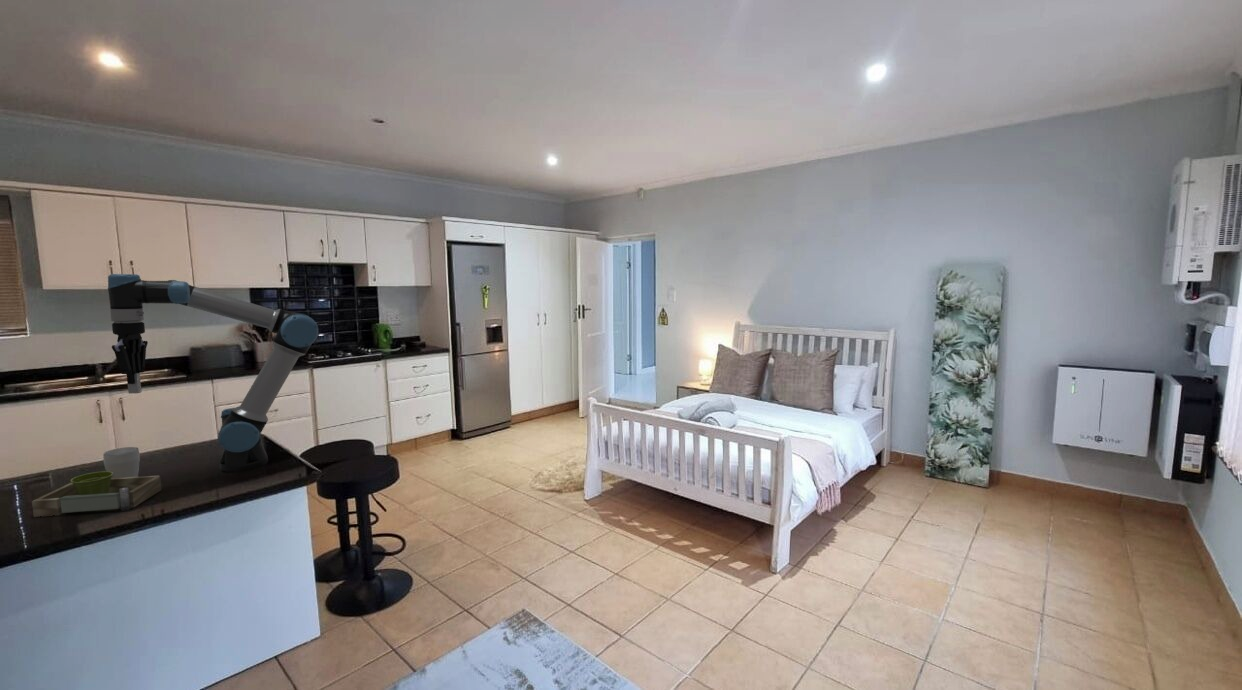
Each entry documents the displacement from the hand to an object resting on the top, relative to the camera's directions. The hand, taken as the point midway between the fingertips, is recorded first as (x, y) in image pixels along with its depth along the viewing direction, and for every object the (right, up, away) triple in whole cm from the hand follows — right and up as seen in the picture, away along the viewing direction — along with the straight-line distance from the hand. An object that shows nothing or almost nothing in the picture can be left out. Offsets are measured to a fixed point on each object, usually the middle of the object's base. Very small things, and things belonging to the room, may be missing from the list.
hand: (135, 392), depth 164 cm
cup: (-14, -33, +10) cm, 37 cm away
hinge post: (+5, -36, -8) cm, 37 cm away
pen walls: (-7, -35, -4) cm, 36 cm away
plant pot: (-9, -35, -4) cm, 37 cm away
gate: (-3, -35, -11) cm, 37 cm away
